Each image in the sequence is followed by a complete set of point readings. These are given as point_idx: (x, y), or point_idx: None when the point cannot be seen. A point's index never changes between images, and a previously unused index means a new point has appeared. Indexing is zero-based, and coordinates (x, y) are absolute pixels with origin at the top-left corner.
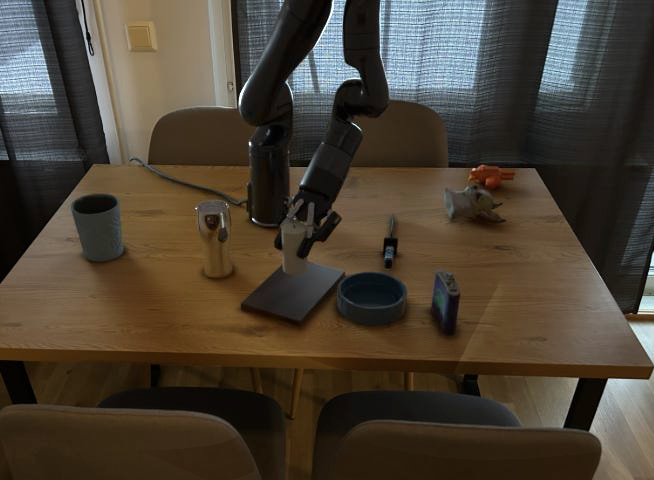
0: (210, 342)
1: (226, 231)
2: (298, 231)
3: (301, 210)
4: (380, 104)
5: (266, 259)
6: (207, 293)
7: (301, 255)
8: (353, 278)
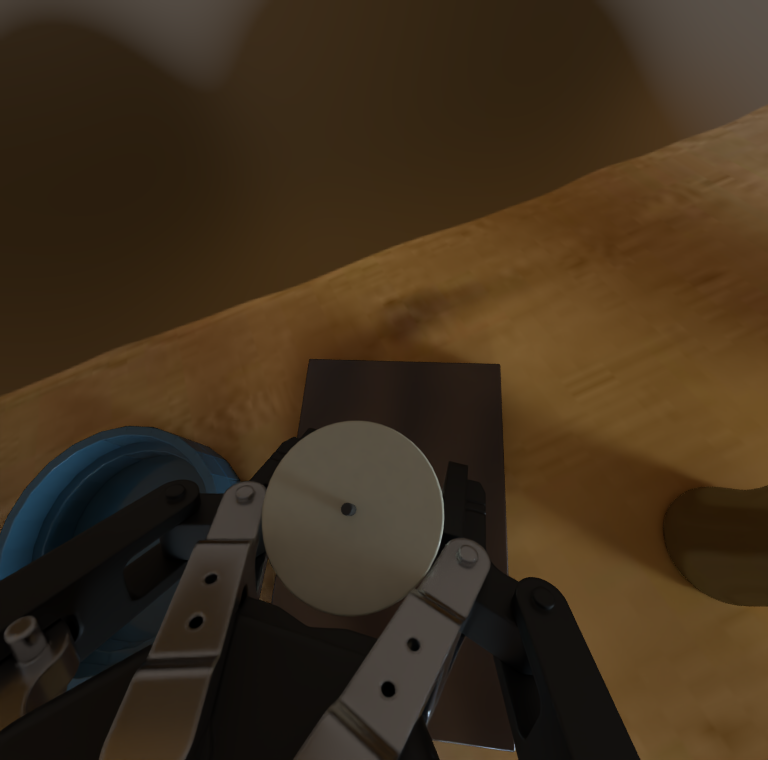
0: (483, 241)
1: None
2: (303, 468)
3: (321, 708)
4: None
5: None
6: (640, 402)
7: None
8: None
